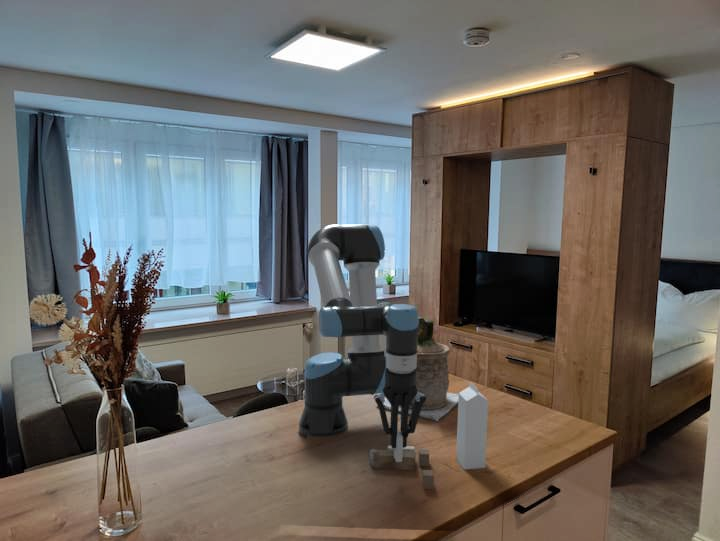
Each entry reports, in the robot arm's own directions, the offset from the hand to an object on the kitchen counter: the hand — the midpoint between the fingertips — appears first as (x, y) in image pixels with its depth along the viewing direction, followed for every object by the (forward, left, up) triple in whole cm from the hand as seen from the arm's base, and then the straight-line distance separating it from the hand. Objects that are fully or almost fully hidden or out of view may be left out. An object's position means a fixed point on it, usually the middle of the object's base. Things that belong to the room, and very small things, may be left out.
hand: (398, 459), depth 121 cm
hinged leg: (-1, +5, -5) cm, 7 cm away
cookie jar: (+10, +52, -6) cm, 53 cm away
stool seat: (0, +1, -6) cm, 6 cm away
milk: (+20, +10, -6) cm, 24 cm away
